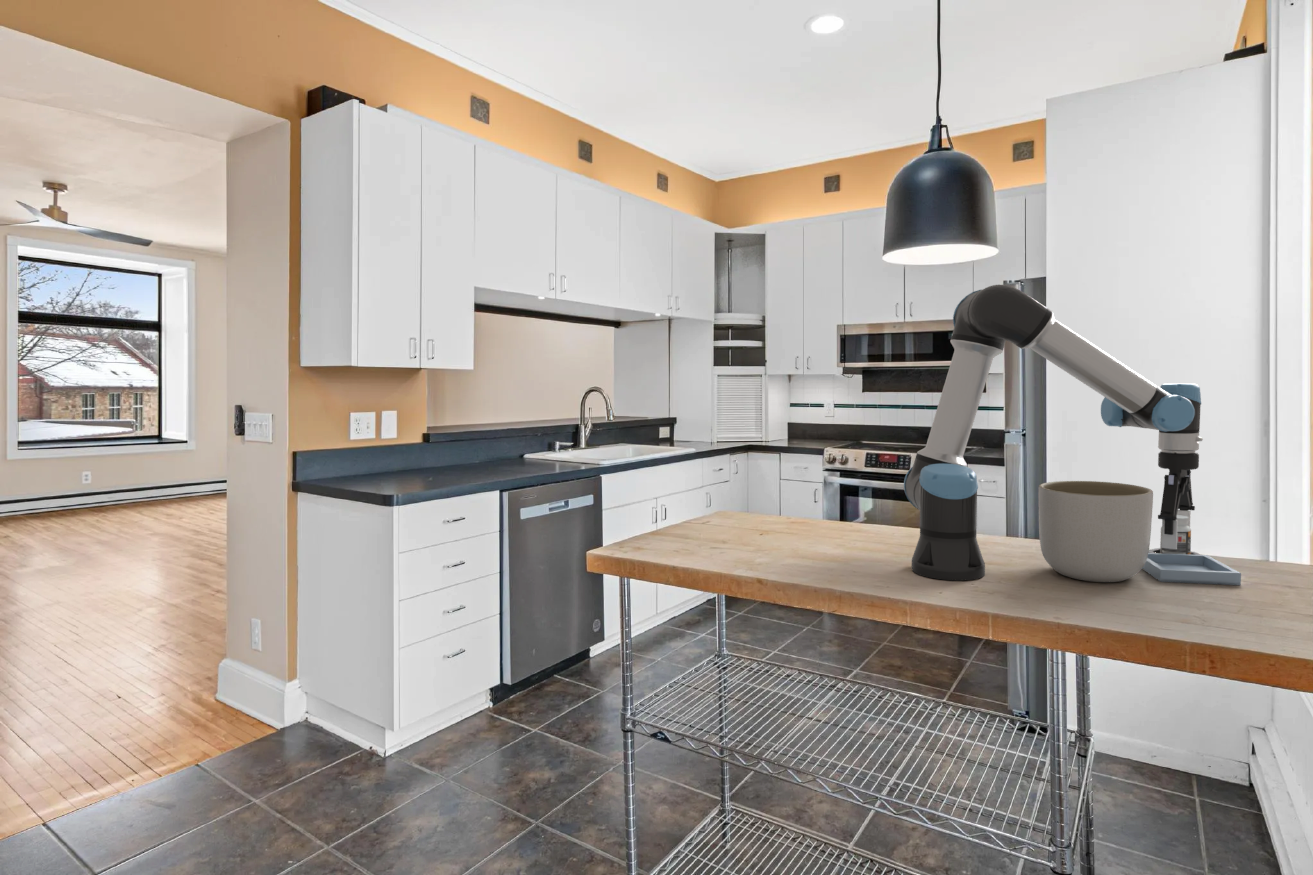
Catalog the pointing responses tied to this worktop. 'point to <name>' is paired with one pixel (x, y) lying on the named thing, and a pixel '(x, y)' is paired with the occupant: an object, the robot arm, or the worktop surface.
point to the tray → (1190, 569)
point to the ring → (1159, 551)
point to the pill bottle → (1180, 538)
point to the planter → (1095, 528)
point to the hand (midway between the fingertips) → (1176, 543)
